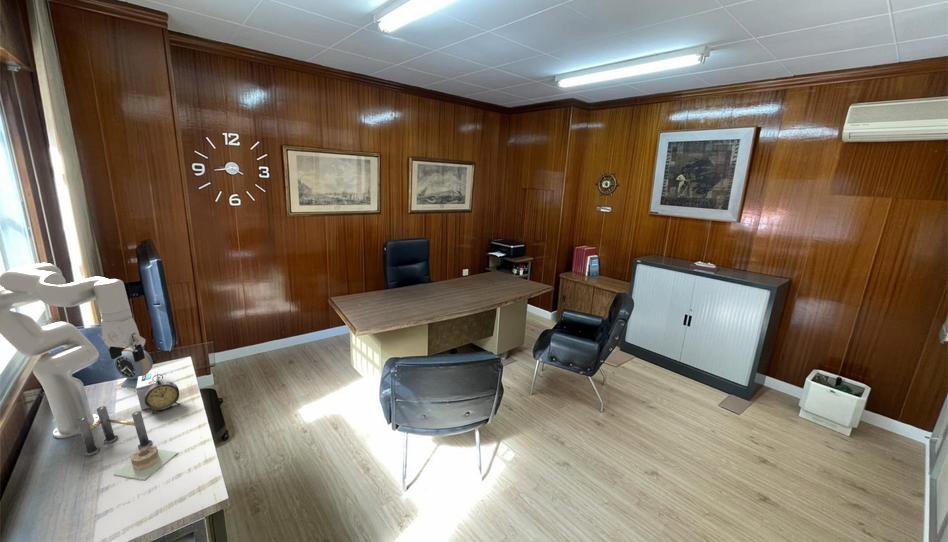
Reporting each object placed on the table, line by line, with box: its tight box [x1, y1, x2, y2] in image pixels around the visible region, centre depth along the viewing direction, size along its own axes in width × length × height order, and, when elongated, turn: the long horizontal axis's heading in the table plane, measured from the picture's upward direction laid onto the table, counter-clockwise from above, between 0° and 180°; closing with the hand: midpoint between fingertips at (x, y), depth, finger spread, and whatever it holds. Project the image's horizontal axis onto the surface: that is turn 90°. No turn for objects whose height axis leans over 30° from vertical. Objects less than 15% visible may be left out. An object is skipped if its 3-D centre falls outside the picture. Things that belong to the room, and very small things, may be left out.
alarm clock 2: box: [145, 373, 180, 414], centre depth 152 cm, size 11×5×16 cm, turn 132°
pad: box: [113, 448, 179, 481], centre depth 126 cm, size 12×12×1 cm
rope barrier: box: [77, 405, 153, 457], centre depth 130 cm, size 19×10×14 cm, turn 81°
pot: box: [130, 445, 159, 471], centre depth 126 cm, size 6×6×4 cm
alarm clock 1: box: [114, 347, 161, 390], centre depth 170 cm, size 14×10×18 cm
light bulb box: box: [135, 371, 160, 410], centre depth 157 cm, size 11×7×11 cm, turn 37°
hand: (128, 358), depth 131 cm, fingers open, 9 cm apart
